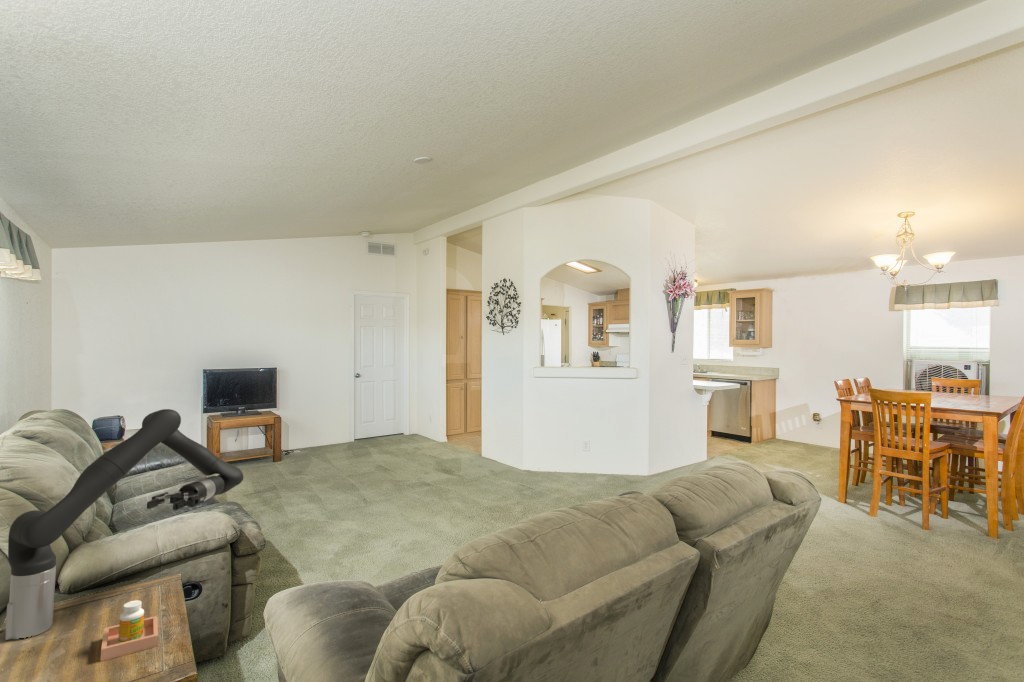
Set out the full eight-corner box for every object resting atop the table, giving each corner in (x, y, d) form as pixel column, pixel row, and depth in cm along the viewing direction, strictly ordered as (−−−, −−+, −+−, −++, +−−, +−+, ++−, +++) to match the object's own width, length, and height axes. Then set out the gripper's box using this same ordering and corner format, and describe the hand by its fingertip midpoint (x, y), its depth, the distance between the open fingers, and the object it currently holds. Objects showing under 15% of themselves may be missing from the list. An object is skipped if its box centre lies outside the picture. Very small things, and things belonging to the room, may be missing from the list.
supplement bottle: (129, 646, 133) (131, 609, 133) (113, 643, 134) (115, 607, 134) (147, 635, 138) (149, 600, 138) (132, 632, 139) (133, 597, 139)
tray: (100, 661, 127) (101, 649, 128) (103, 639, 137) (104, 628, 137) (157, 646, 135) (158, 635, 135) (156, 626, 144) (157, 615, 144)
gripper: (178, 480, 170) (139, 493, 154) (217, 482, 169) (183, 495, 153) (177, 502, 170) (138, 517, 154) (216, 504, 169) (182, 519, 153)
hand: (161, 506), depth 154 cm, fingers open, 8 cm apart
